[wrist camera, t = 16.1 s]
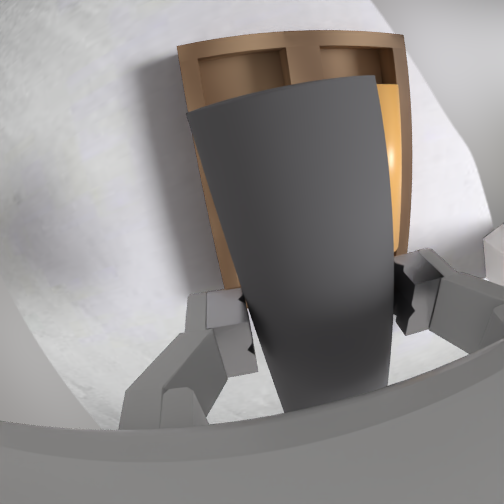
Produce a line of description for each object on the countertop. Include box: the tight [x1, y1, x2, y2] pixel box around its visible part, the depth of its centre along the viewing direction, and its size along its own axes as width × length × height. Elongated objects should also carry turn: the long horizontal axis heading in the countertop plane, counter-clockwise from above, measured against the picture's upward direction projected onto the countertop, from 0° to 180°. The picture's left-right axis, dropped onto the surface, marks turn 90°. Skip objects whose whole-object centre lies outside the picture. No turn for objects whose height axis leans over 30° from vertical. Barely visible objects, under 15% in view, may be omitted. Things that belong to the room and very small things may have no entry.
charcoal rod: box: [186, 75, 394, 413], centre depth 9 cm, size 11×4×4 cm, turn 14°
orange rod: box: [377, 84, 402, 252], centre depth 19 cm, size 11×4×4 cm, turn 8°
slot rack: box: [177, 30, 412, 308], centre depth 21 cm, size 14×18×3 cm
